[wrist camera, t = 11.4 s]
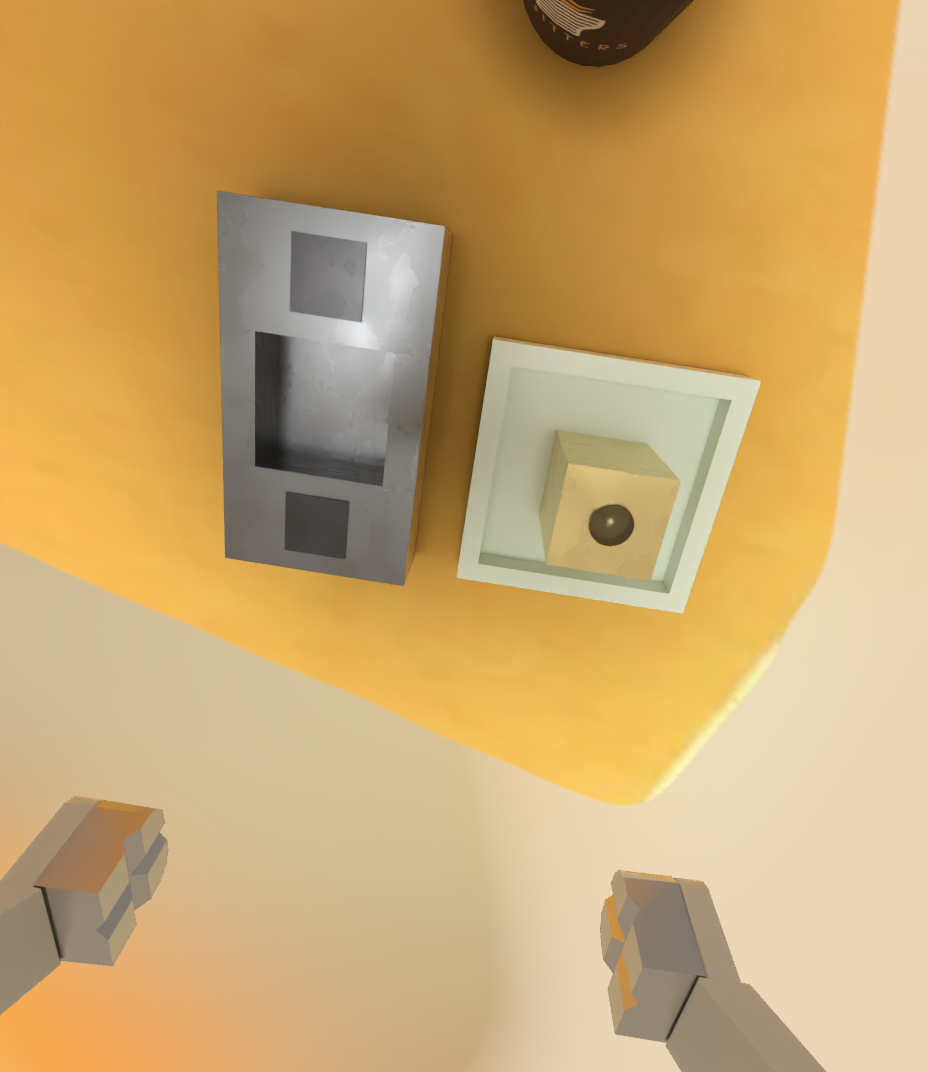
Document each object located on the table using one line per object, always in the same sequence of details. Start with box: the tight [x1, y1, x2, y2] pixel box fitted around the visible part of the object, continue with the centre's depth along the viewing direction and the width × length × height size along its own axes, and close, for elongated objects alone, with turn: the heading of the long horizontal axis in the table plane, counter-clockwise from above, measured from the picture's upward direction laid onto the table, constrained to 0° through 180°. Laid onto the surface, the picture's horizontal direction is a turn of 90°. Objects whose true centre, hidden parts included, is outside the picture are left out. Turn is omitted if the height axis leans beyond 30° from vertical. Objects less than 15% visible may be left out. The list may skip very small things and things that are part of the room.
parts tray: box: [456, 336, 761, 613], centre depth 29 cm, size 12×12×2 cm
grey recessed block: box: [217, 191, 453, 586], centre depth 28 cm, size 16×9×4 cm, turn 172°
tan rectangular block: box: [539, 430, 681, 581], centre depth 27 cm, size 4×4×6 cm
